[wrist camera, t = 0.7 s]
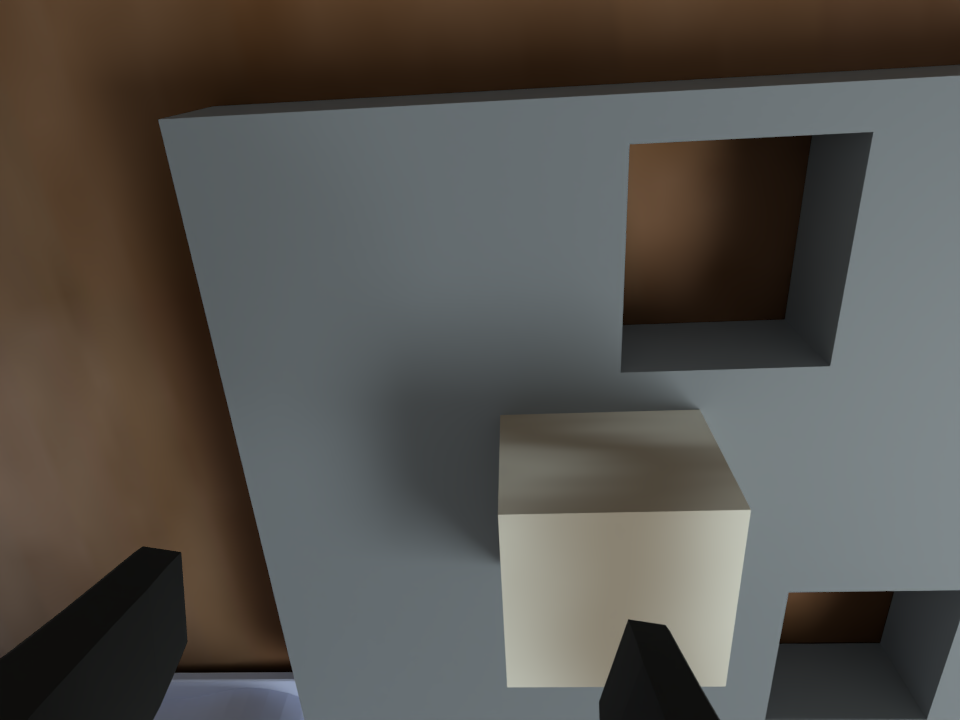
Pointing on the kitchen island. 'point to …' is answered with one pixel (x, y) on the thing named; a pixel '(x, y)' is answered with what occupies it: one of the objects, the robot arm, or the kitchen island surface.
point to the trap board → (580, 372)
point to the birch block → (615, 542)
